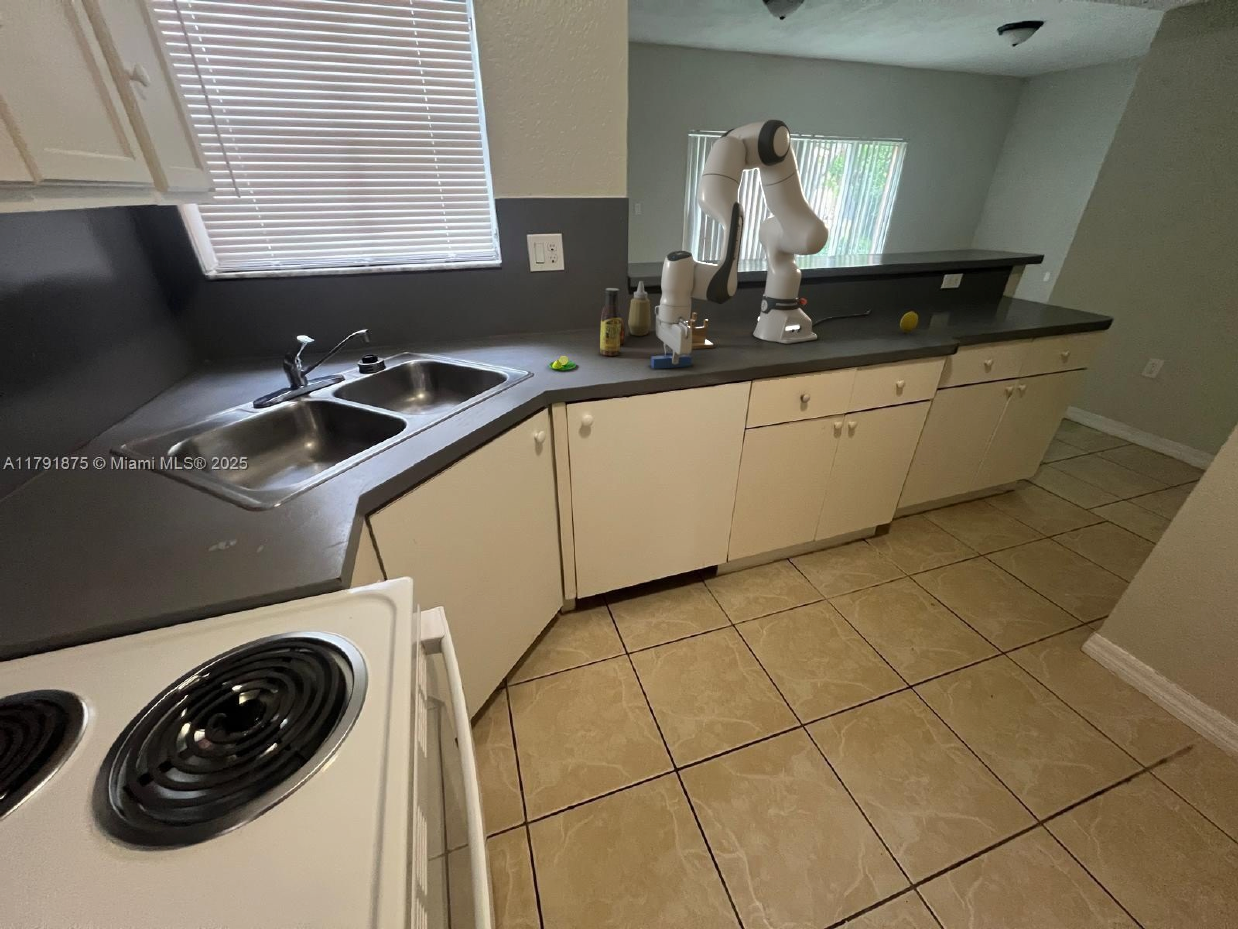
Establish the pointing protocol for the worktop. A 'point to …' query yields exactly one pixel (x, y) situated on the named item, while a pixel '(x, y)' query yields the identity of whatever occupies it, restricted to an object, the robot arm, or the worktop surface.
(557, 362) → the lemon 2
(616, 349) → the sauce bottle
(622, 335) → the tin
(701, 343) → the holder
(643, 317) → the squeeze bottle
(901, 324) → the lemon
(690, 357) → the handle
